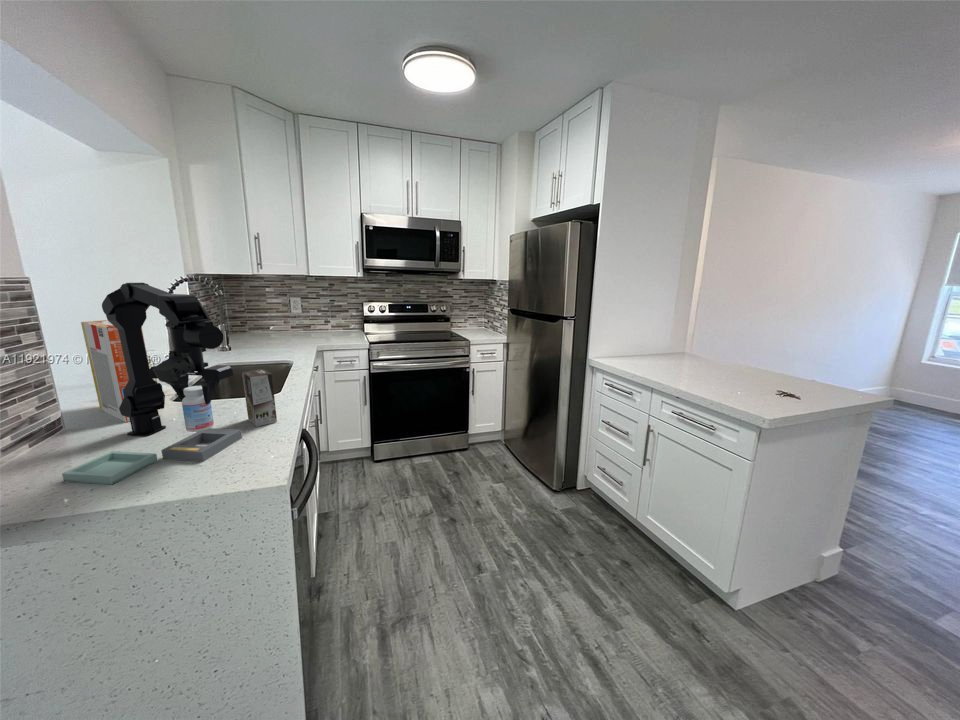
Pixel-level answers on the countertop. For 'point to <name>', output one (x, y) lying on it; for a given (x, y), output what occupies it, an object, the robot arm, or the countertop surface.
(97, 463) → the tray
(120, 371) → the orange cereal box
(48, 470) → the countertop surface
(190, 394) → the pill bottle
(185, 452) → the socket block
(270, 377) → the coffee box
